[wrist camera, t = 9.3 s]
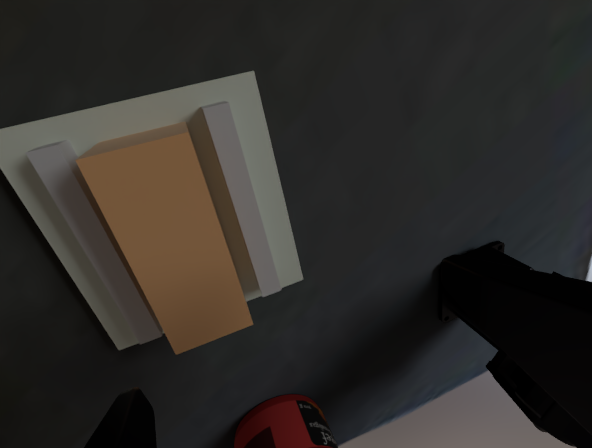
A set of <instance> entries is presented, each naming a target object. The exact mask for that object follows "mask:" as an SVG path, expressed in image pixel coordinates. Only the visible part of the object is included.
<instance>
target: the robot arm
mask: <svg viewBox="0 0 592 448" xmlns="http://www.w3.org/2000/svg"><path fill="white" fill-rule="evenodd" d="M504 246H505V245H504V243H502V242H500V241H495V242H493V243H491V244H488V245H486V246H483V247H481V248H479V249H476V250H474V251H471V252H469V253H467V254H464V255H462V256H460V255H451V256H449V257H446V258H444V259H443V260H442V262H441V266H440V268H439V319H440V320H441V321H442V322H443V323H446V322H449V321H451V320H453V319H455V318H457V317H459V318H460V319H461V320H462V321H463V322H465V323H466V324H467V325H468V326H469V327H471V328H472V329H473V330H474V331H475V332H477V333H478V334H479V335H480V336H482V337H483V338H484V339H485V340H486V341H488V342H489V343H490V344H491V345H492V346H494V347H495V348H496V349H497V350H498V352H497V353H496V355H495V356H494V358H493V359H492V360H491V361H489V362H488V364H487V365H486V368H487V369H488V370H489V371H490V372H491V373H492V375H493V377H494V379H495V380H496V381H497V382H498V383H499V384H500V386H501V387H502V388H503V389H504V390H505V391H506V393H507V394H508V395H509V396H510V397H511V398H512V400H513V401H514V402H515V403H516V404H517V405H518V407H519V408H520V409H521V410H522V411H523V412H524V414H525V415H526V416H527V417H528V418H529V419H530V421H531V422H533V424H534V425H535V427H536V428H538V429H539V430H540V431H542V432H548V433H549V434H551V435H552V436H554V437H555V438H557V439H558V440H560V441H562V442H564V443H565V444H568V445H570V446H575V447H577V448H592V282H589V281H584V280H579V279H574V278H569V277H565V276H563V275H560V274H558V273H556V272H554V271H553V273H552V274H549V273H544V272H539V271H535V270H534V269H533V268H531V267H529V266H527V265H525V264H523V263H522V262H520V261H518V260H516V259H514V258H512V257H510V256H508V255H506V254H504ZM84 448H157V446H156V431H155V417H154V411H153V408H152V406H151V404H150V403H149V401H148V400H147V398H146V397H145V395H144V394H143V392H142V391H141V390H140V389H139V388H138V387H134V388H132V389H129V390H127V391H125V392H122V393H121V394H120V395H119V396H118V397H117V398H116V400H115V401H114V403H113V404H112V406H111V407H110V409H109V410H108V412H107V413H106V415H105V417H104V418H103V420H102V421H101V423H100V424H99V426H98V427H97V429H96V430H95V432H94V433H93V435H92V436H91V438H90V439H89V441H88V442H87V444H86V445H85V447H84Z"/></svg>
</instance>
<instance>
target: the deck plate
mask: <svg viewBox="0 0 592 448" xmlns="http://www.w3.org/2000/svg"><path fill="white" fill-rule="evenodd" d="M181 122H186V124H187V127H188V130H189V133H190V136H191V139H192V142H193V145H194V148H195V151H196V154H197V157H198V160H199V163H200V166H201V169H202V172H203V175H204V178H205V181H206V184H207V187H208V190H209V193H210V196H211V198H212V201H213V204H214V207H215V210H216V213H217V216H218V219H219V222H220V225H221V228H222V231H223V234H224V237H225V240H226V243H227V246H228V249H229V252H230V255H231V258H232V261H233V264H234V267H235V270H236V272H237V275H238V278H239V281H240V284H241V287H242V291H243V294H244V297H245V300H246V301H249V300H252V299H254V298H257V297H259V296H263V297H265V296H267V295H270V294H273V293H275V292H278V291H280V290H281V288H283V287H285V286H288V285H290V284H293V283H296V282H298V281H301V280H303V276H302V272H301V268H300V263H299V259H298V255H297V251H296V246H295V242H294V238H293V234H292V230H291V225H290V221H289V217H288V213H287V209H286V204H285V200H284V196H283V192H282V187H281V183H280V179H279V175H278V171H277V166H276V162H275V158H274V154H273V150H272V145H271V141H270V137H269V133H268V128H267V124H266V120H265V116H264V112H263V107H262V103H261V99H260V95H259V91H258V86H257V82H256V78H255V74H254V71H250V72H246V73H241V74H237V75H233V76H228V77H224V78H220V79H215V80H211V81H207V82H202V83H198V84H194V85H189V86H185V87H181V88H176V89H172V90H168V91H163V92H159V93H154V94H150V95H146V96H141V97H137V98H133V99H128V100H124V101H120V102H115V103H111V104H107V105H102V106H98V107H94V108H89V109H85V110H81V111H76V112H72V113H68V114H63V115H59V116H55V117H50V118H46V119H42V120H37V121H33V122H29V123H24V124H20V125H16V126H11V127H7V128H3V129H0V168H1V170H2V171H3V173H4V175H5V176H6V178H7V179H8V181H9V182H10V184H11V185H12V187H13V188H14V190H15V191H16V193H17V195H18V196H19V198H20V199H21V201H22V202H23V204H24V205H25V207H26V208H27V210H28V211H29V213H30V215H31V216H32V218H33V219H34V221H35V222H36V224H37V225H38V227H39V228H40V230H41V231H42V233H43V235H44V236H45V238H46V239H47V241H48V242H49V244H50V245H51V247H52V248H53V250H54V252H55V253H56V255H57V256H58V258H59V259H60V261H61V262H62V264H63V265H64V267H65V268H66V270H67V272H68V273H69V275H70V276H71V278H72V279H73V281H74V282H75V284H76V285H77V287H78V288H79V290H80V292H81V293H82V295H83V296H84V298H85V299H86V301H87V302H88V304H89V305H90V307H91V308H92V310H93V312H94V313H95V315H96V316H97V318H98V319H99V321H100V322H101V324H102V325H103V327H104V328H105V330H106V332H107V333H108V335H109V336H110V338H111V339H112V341H113V342H114V344H115V345H116V347H117V348H118V350H122V349H124V348H127V347H130V346H132V345H135V344H137V343H140V345H141V344H143V343H146V342H149V341H151V340H154V339H156V338H159V337H162V334H163V333H165V332H164V331H163V329H162V327H161V325H160V323H159V321H158V319H157V317H156V315H155V313H154V311H153V309H152V307H151V305H150V304H149V302H148V300H147V298H146V296H145V294H144V292H143V290H142V288H141V286H140V284H139V282H138V280H137V278H136V277H135V275H134V273H133V271H132V269H131V267H130V265H129V263H128V261H127V259H126V257H125V255H124V253H123V251H122V250H121V248H120V246H119V244H118V242H117V240H116V238H115V236H114V234H113V232H112V230H111V228H110V226H109V224H108V223H107V221H106V219H105V217H104V215H103V213H102V211H101V209H100V207H99V205H98V203H97V201H96V199H95V197H94V196H93V194H92V192H91V190H90V188H89V186H88V184H87V182H86V180H85V178H84V176H83V174H82V172H81V170H80V168H79V167H78V165H77V163H76V161H75V160H76V159H77V158H79V157H80V156H81V155H83V154H84V153H85V152H87V151H88V150H89V149H91V148H92V147H93V146H95V145H96V144H97V143H99V142H102V141H106V140H111V139H115V138H119V137H123V136H127V135H131V134H135V133H140V132H144V131H148V130H152V129H156V128H160V127H164V126H168V125H173V124H177V123H181Z"/></svg>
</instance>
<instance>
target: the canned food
mask: <svg viewBox="0 0 592 448" xmlns="http://www.w3.org/2000/svg"><path fill="white" fill-rule="evenodd" d="M234 448H338V446H337V444H336V441H335V439H334V437H333V435H332V433H331V430H330V428H329V426H328V424H327V421H326V419H325V417H324V415H323V413H322V411H321V409H320V408H319V407H318V406H317V404H316V403H315V402H314V401H313V400H312V399H310V398H308V397H306V396H303V395H297V394H289V395H282V396H278V397H274V398H272V399H269V400H267V401H265V402H263V403H261V404H259V405H258V406H256V407H255V408H254V409H252V410H251V411H250V412H249V413H248V414H247V415H246V416H245V417H244V418H243V419H242V421H241V422H240V424H239V426H238V428H237V430H236V434H235V441H234Z"/></svg>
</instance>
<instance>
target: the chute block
mask: <svg viewBox="0 0 592 448" xmlns="http://www.w3.org/2000/svg"><path fill="white" fill-rule="evenodd" d="M75 161H76V163H77V165H78V167H79V168H80V170H81V172H82V174H83V176H84V178H85V180H86V182H87V184H88V186H89V188H90V190H91V192H92V194H93V196H94V197H95V199H96V201H97V203H98V205H99V207H100V209H101V211H102V213H103V215H104V217H105V219H106V221H107V223H108V224H109V226H110V228H111V230H112V232H113V234H114V236H115V238H116V240H117V242H118V244H119V246H120V248H121V250H122V251H123V253H124V255H125V257H126V259H127V261H128V263H129V265H130V267H131V269H132V271H133V273H134V275H135V277H136V278H137V280H138V282H139V284H140V286H141V288H142V290H143V292H144V294H145V296H146V298H147V300H148V302H149V304H150V305H151V307H152V309H153V311H154V313H155V315H156V317H157V319H158V321H159V323H160V325H161V327H162V329H163V331H164V332H165V334H166V336H167V338H168V340H169V342H170V344H171V346H172V348H173V350H174V352H175V354H176V355H177V354H180V353H182V352H185V351H187V350H190V349H192V348H195V347H197V346H200V345H202V344H205V343H208V342H210V341H213V340H215V339H218V338H220V337H223V336H225V335H228V334H230V333H233V332H235V331H238V330H241V329H243V328H246V327H248V326H251V325H253V322H252V319H251V315H250V312H249V309H248V306H247V303H246V300H245V297H244V294H243V291H242V287H241V284H240V281H239V278H238V275H237V272H236V270H235V267H234V264H233V261H232V258H231V255H230V252H229V249H228V246H227V243H226V240H225V237H224V234H223V231H222V228H221V225H220V222H219V219H218V216H217V213H216V210H215V207H214V204H213V201H212V198H211V196H210V193H209V190H208V187H207V184H206V181H205V178H204V175H203V172H202V169H201V166H200V163H199V160H198V157H197V154H196V151H195V148H194V145H193V142H192V139H191V136H190V133H189V130H188V127H187V124H186V122H181V123H177V124H173V125H168V126H164V127H160V128H156V129H152V130H148V131H144V132H140V133H135V134H131V135H127V136H123V137H119V138H115V139H111V140H106V141H102V142H99V143H97V144H96V145H95V146H93V147H92V148H91V149H89V150H88V151H87V152H85V153H84V154H83V155H81V156H80V157H79V158H77V159H76V160H75Z"/></svg>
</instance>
